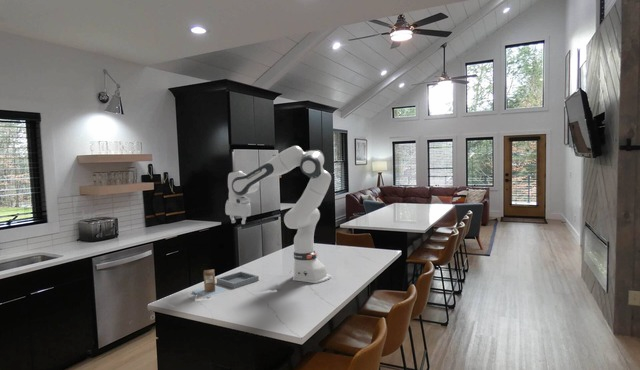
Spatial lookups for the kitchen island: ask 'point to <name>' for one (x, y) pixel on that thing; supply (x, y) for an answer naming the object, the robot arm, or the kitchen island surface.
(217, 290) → the light blue flat slab
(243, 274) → the parts bin
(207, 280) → the walnut block
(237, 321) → the kitchen island surface
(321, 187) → the robot arm
